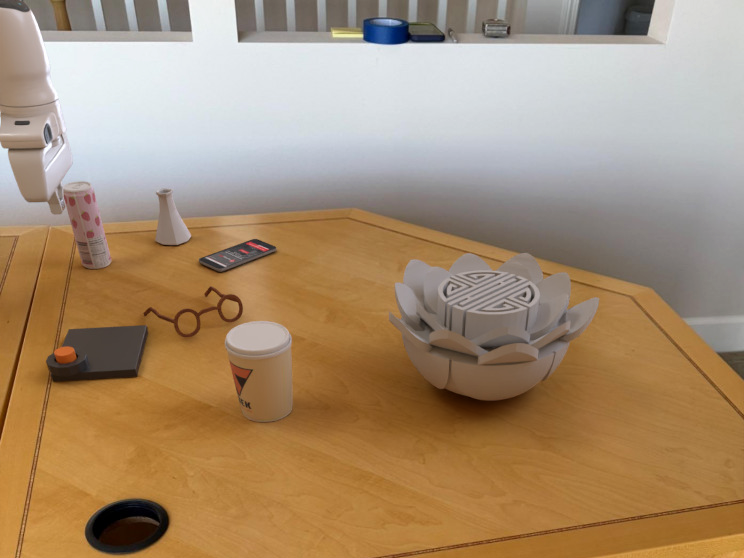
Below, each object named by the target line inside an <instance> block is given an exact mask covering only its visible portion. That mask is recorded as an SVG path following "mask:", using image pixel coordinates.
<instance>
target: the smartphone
mask: <svg viewBox="0 0 744 558" xmlns="http://www.w3.org/2000/svg"><path fill="white" fill-rule="evenodd" d="M275 252H277V246H275V245H273V244H270V243H269V242H266V241H262V240H261V239H258V238H252V239H249V240H246V241H244V242H240V243H238V244H235V245H232V246H230V247H227V248H224V249H222V250H221V249H220V250H219V251H216V252H214V253H211V254H208V255H204V256H202V257H199V258H198V263H199V264H201V265H203V266H205V267H207V268H209V269H212V270H214V271H216V272H217V273H223V272H226V271H228V270H230V269H231V270H232V269H233V268H237V267H239V266H241V265H244V264H247V263H248V262H249V263H250V262H251V261H255V260H257V259H260V258H262V257H264V256H267V255H270V254H273V253H275Z"/></svg>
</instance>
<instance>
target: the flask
mask: <svg viewBox="0 0 744 558" xmlns="http://www.w3.org/2000/svg"><path fill="white" fill-rule="evenodd" d="M173 193H174V190H173V189H172V188H159V189H157V190H156V191H155V194H156V196H158V197H157V198H158V201H159V202H158V205H159V206H158V207H159V213H158V219H157V227H156V233H155V239H154V242H157V243H159V244H161V245H165V246H178V245H181V244H183V243H187V242H188V241H189V240H190V239H191V237H192V234H191V232H190V230H189V229H188V227H187V225H186V224H185V222H184V220H183V219H182V216H181V215H180V214H179V211H178V209H177V207H176V204H175V202H174V198H173Z"/></svg>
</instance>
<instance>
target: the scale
mask: <svg viewBox="0 0 744 558" xmlns="http://www.w3.org/2000/svg"><path fill="white" fill-rule="evenodd" d="M148 335H149V329H148V325H147V324H141V325H121V326H100V327H81V328H68V330H67V332H66V336H65V338H64V340H63V342H62V345H61V347H66V346H68V347H72V348H74V350H75V354H76V357H77V359H76V360H75V361H73V362H70V363H65V364H60V363H58V362H57V360H56V357H55V354H54V352H52V353H51V354H49V355H48V356H47V358H46V360H45V363H46V366H47V369H48V371H49V372H50V377H51V381H52V382H53V383H54V382H56V383H57V382H71V381H85V380H86V381H88V380H105V379H123V378H125V379H126V378H137V377H138V375H139V371H140V367H141V363H142V359H143V355H144V351H145V347H146V343H147V338H148Z"/></svg>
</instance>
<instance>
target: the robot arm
mask: <svg viewBox="0 0 744 558" xmlns="http://www.w3.org/2000/svg"><path fill="white" fill-rule="evenodd" d="M66 132H67V126H66V122H65V118H64V114H63V110H62V106H61V102H60V98H59V94H58V92H57V90H56V88H55V86H54V85H53V80H52V77H51V64H50V59H49V56H48V52H47V48H46V44H45V42H44V39H43V35H42V32H41V29H40V27H39V24H38V21H37V18H36V17H35V14H34V13H33V11H32V10H31V7H30V6H29V5H28V4H27V3H26V2H24V1H23V0H0V145H1V148H2V149H4V150H5V149H7V157H8V161H9V165H10V168H11V171H12V174H13V176H14V179H15V182H16V185H17V187H18V190H19V192H20V194H21V196H22V197H23V199H24V200H25V201H26V202H27V203H47V204H48V207H49V210H50V213H51V214H52V215H62V214H63V213H64V210H65V209H66V204H65V200H64V194H63V185H64V184H63V179H64V178H65V177H66V175H67V173H68V172H69V170H70V169H71V167H72V165H73V163H74V159H73V153H72V149H71V147H70V142H69V139H68V136H67V133H66Z"/></svg>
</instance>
